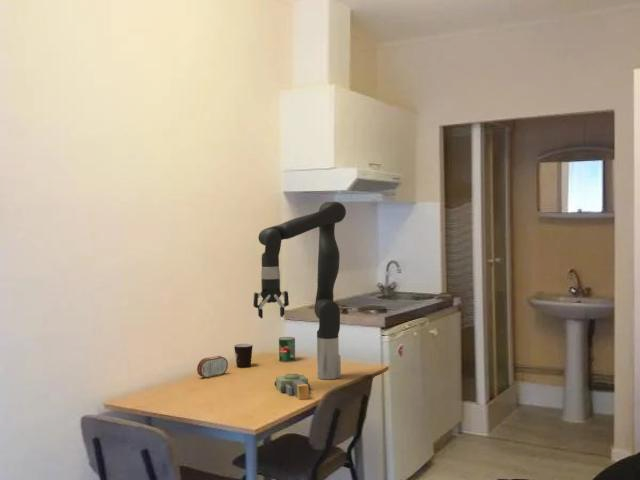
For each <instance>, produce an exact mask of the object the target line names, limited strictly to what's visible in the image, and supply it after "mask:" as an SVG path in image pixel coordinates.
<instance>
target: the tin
mask: <svg viewBox="0 0 640 480" xmlns="http://www.w3.org/2000/svg"><path fill="white" fill-rule="evenodd" d="M228 367H229V363H228V359H226V358H225V357H224V356H222V355H217V356H211V357H204V358H202V359H201V360H199V362H198V364H197V367H196V368H197V369H196V371H197V375H198V376H199V377H202V378H206V379H208V378H213V377H218V376H222V375H224V374H225V373H226V372H227V370H228Z"/></svg>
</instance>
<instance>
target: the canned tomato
mask: <svg viewBox="0 0 640 480" xmlns="http://www.w3.org/2000/svg"><path fill="white" fill-rule="evenodd" d="M278 355H279V357H278V361H279V363H280V362H281V363H293V362H295V361H296V337H295V336H283V337H279V338H278Z"/></svg>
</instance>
